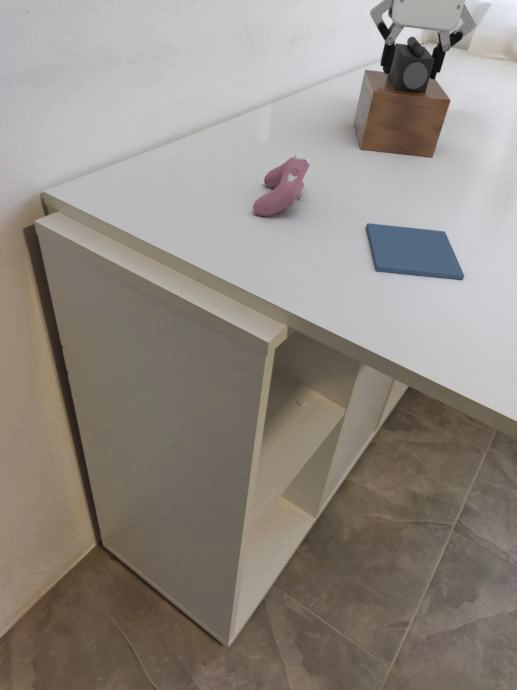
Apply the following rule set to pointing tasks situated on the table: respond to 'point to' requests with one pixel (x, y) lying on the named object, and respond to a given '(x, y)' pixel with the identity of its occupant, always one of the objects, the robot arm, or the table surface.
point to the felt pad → (413, 251)
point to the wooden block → (399, 116)
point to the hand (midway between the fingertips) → (408, 73)
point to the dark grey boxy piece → (411, 67)
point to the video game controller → (282, 187)
